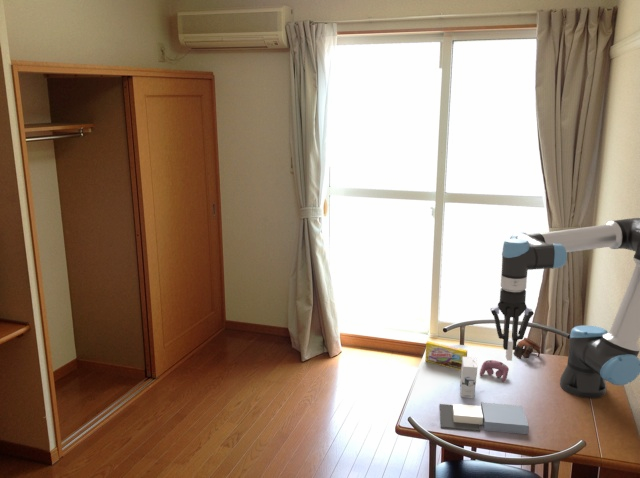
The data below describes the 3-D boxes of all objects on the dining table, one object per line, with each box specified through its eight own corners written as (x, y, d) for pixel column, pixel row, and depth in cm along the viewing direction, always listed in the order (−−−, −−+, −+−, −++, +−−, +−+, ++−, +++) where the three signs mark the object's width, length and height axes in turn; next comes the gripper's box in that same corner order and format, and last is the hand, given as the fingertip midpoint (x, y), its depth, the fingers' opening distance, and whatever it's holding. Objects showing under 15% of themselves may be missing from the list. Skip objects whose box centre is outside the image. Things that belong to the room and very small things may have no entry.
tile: (480, 413, 189) (480, 406, 189) (482, 424, 183) (483, 417, 182) (452, 410, 191) (453, 403, 190) (453, 421, 184) (454, 414, 184)
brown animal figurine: (510, 351, 238) (520, 334, 237) (531, 363, 236) (541, 346, 236) (514, 356, 226) (525, 338, 226) (535, 369, 225) (547, 351, 224)
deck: (521, 413, 190) (522, 405, 189) (527, 434, 178) (528, 425, 178) (480, 410, 192) (481, 402, 191) (484, 430, 181) (485, 421, 180)
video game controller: (507, 382, 214) (510, 364, 215) (505, 382, 210) (508, 363, 211) (481, 376, 219) (484, 358, 220) (478, 375, 215) (481, 357, 216)
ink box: (459, 385, 209) (461, 355, 206) (474, 386, 208) (476, 357, 205) (460, 397, 200) (462, 366, 198) (475, 398, 199) (477, 367, 197)
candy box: (424, 361, 228) (425, 342, 226) (426, 359, 229) (427, 340, 227) (464, 371, 219) (466, 351, 217) (466, 369, 221) (467, 349, 219)
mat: (475, 408, 193) (476, 407, 193) (479, 431, 180) (479, 430, 180) (439, 405, 195) (439, 403, 195) (440, 427, 182) (440, 426, 182)
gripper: (493, 292, 175) (489, 362, 181) (537, 293, 173) (532, 364, 179) (489, 284, 182) (486, 352, 188) (532, 285, 180) (527, 354, 186)
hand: (508, 358), depth 183 cm, fingers closed
